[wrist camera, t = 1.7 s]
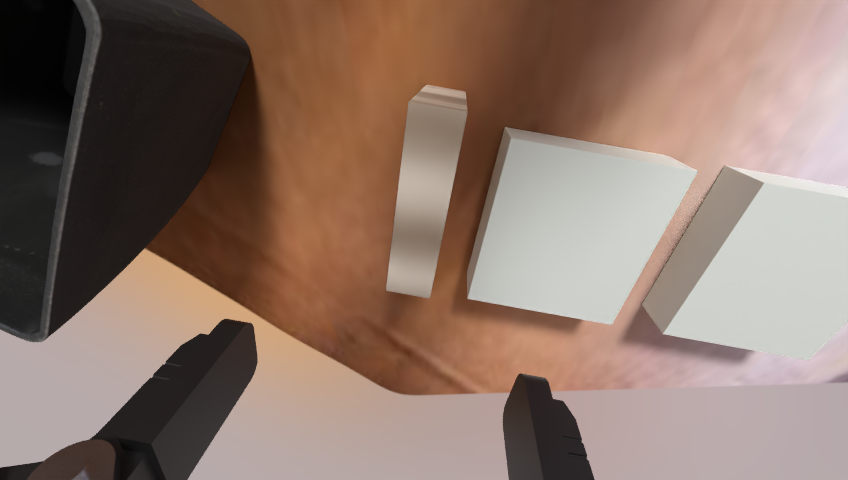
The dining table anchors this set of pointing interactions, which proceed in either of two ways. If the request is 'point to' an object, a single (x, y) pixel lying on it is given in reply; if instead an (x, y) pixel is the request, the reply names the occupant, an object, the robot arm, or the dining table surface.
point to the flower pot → (100, 140)
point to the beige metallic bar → (425, 187)
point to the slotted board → (639, 234)
